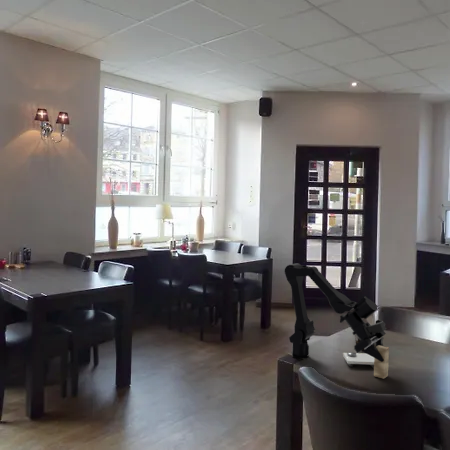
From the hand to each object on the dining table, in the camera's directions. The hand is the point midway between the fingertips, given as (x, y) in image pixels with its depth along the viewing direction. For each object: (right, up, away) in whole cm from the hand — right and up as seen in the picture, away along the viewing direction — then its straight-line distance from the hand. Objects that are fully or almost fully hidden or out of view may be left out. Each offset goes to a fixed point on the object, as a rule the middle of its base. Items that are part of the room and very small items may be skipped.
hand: (385, 359), depth 172 cm
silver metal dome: (-8, -3, +17) cm, 19 cm away
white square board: (-5, -6, +15) cm, 17 cm away
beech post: (-1, -7, +1) cm, 7 cm away
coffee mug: (+2, -5, +35) cm, 35 cm away
